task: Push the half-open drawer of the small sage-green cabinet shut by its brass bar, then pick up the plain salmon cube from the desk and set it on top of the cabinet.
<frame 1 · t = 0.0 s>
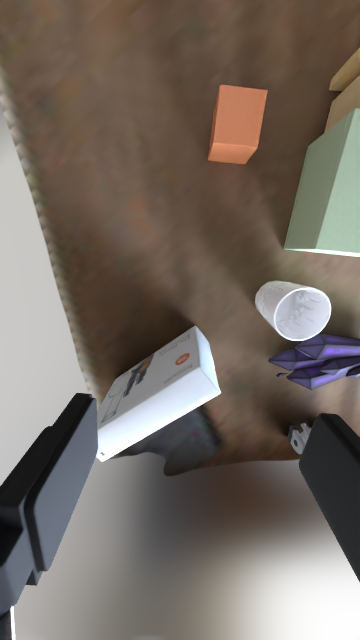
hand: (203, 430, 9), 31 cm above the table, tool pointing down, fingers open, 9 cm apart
cabinet: (333, 205, 34), on the table
white cup: (272, 298, 39), on the table
skincare box: (159, 360, 43), on the table
plain salmon cube: (229, 139, 31), on the table
crystal: (314, 351, 43), on the table
figurine: (308, 423, 48), on the table
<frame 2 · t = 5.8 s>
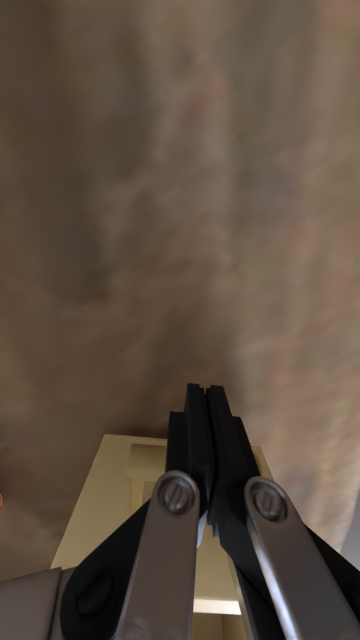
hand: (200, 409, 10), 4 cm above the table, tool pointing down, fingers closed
drawer: (176, 544, 13), point 5 cm above the table, slide at 5.9 cm, touching gripper
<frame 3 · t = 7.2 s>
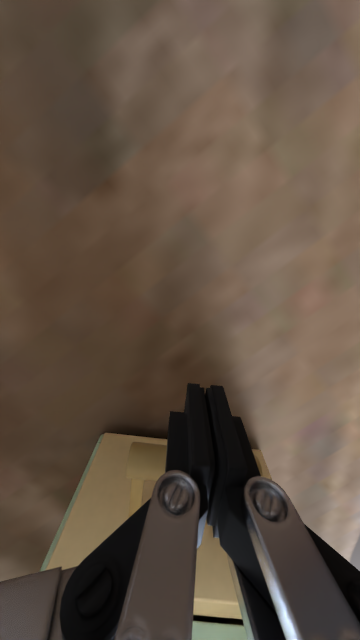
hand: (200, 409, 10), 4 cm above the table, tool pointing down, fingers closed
cabinet: (171, 504, 19), on the table
drawer: (173, 546, 13), point 5 cm above the table, slide at 0.0 cm, touching cabinet, gripper
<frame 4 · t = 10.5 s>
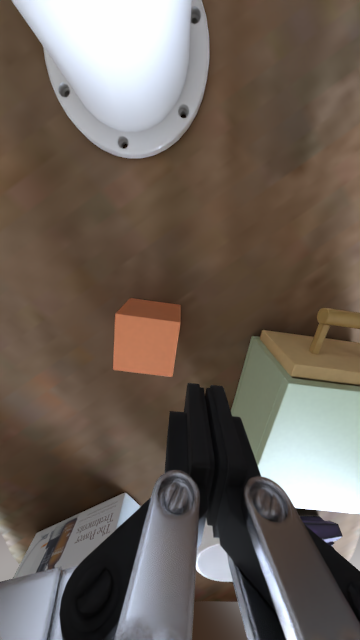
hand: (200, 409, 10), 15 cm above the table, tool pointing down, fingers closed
cabinet: (284, 392, 28), on the table
white cup: (215, 470, 33), on the table
skincare box: (87, 518, 37), on the table
plain salmon cube: (153, 324, 25), on the table
drawer: (315, 390, 22), point 5 cm above the table, slide at 0.0 cm, touching cabinet
crystal: (266, 516, 37), on the table
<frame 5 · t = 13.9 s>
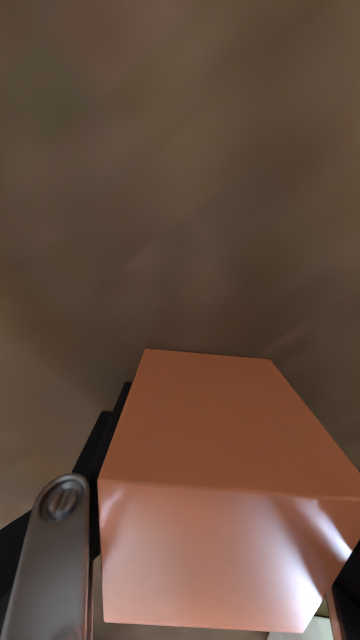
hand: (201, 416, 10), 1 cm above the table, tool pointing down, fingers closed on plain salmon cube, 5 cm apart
white cup: (304, 630, 18), on the table
plain salmon cube: (200, 404, 10), on the table, touching gripper
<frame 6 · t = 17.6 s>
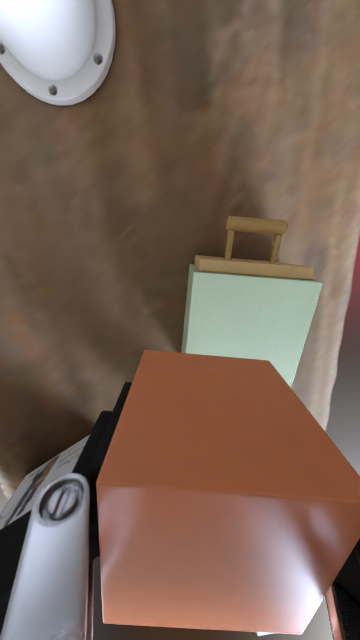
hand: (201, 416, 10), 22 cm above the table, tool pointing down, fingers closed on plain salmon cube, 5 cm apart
cabinet: (227, 317, 31), on the table
skincare box: (70, 457, 41), on the table
plain salmon cube: (199, 405, 10), point 21 cm above the table, touching gripper
drawer: (240, 299, 26), point 5 cm above the table, slide at 0.0 cm, touching cabinet
when the fingers open (10 cm above the table, at t = 21.4 s): plain salmon cube stays where it is, resting on cabinet.
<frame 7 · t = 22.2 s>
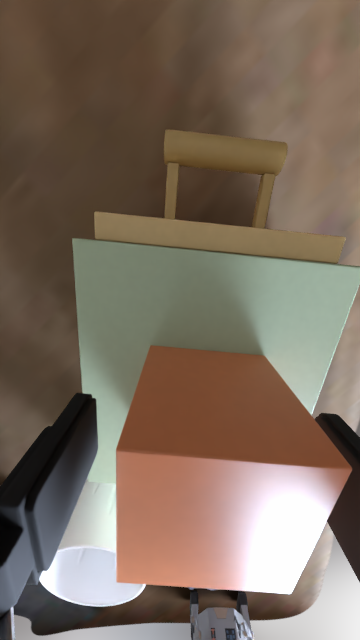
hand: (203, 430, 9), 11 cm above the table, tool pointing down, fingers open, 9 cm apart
cabinet: (192, 332, 20), on the table
white cup: (126, 451, 25), on the table
plain salmon cube: (200, 397, 11), point 9 cm above the table, touching cabinet
drawer: (201, 303, 14), point 5 cm above the table, slide at 0.0 cm, touching cabinet
figurine: (216, 587, 34), on the table
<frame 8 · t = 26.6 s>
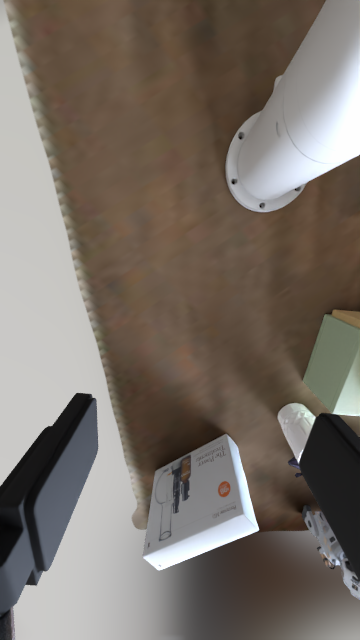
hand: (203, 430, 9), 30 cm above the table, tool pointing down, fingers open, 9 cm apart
cabinet: (344, 352, 41), on the table
white cup: (292, 414, 47), on the table
skincare box: (194, 457, 51), on the table
figurine: (319, 503, 56), on the table
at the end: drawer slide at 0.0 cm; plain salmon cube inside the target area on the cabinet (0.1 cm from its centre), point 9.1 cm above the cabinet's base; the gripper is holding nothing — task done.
